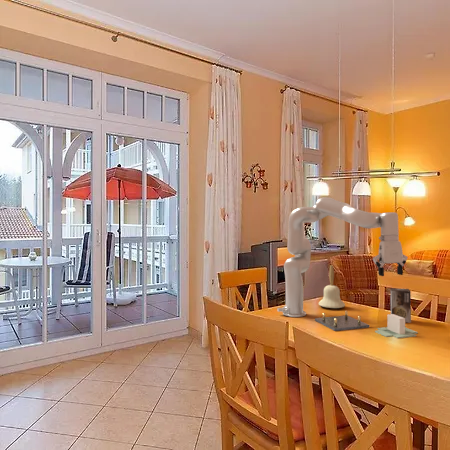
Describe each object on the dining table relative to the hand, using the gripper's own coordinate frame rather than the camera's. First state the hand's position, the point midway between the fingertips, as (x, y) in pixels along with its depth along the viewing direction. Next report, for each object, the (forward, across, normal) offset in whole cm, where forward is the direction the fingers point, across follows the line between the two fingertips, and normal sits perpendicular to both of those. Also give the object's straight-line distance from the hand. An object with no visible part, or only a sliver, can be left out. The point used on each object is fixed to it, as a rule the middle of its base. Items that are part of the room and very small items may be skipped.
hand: (390, 275), depth 179 cm
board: (+27, 0, -3) cm, 27 cm away
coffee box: (+26, +14, +14) cm, 33 cm away
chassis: (+26, -18, +16) cm, 35 cm away
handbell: (+25, -7, +49) cm, 55 cm away
